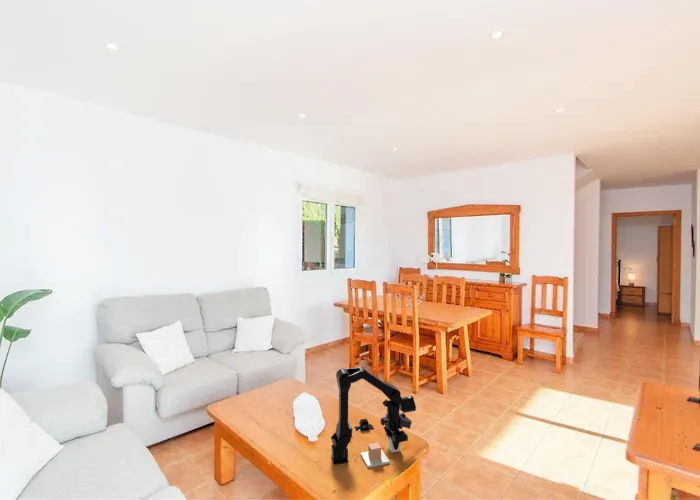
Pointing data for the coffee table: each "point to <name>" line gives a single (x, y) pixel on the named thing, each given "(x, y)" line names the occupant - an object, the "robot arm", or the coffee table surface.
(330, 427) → the coffee table surface
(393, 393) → the robot arm
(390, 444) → the cream brick
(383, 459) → the plate
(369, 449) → the terracotta brick
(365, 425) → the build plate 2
